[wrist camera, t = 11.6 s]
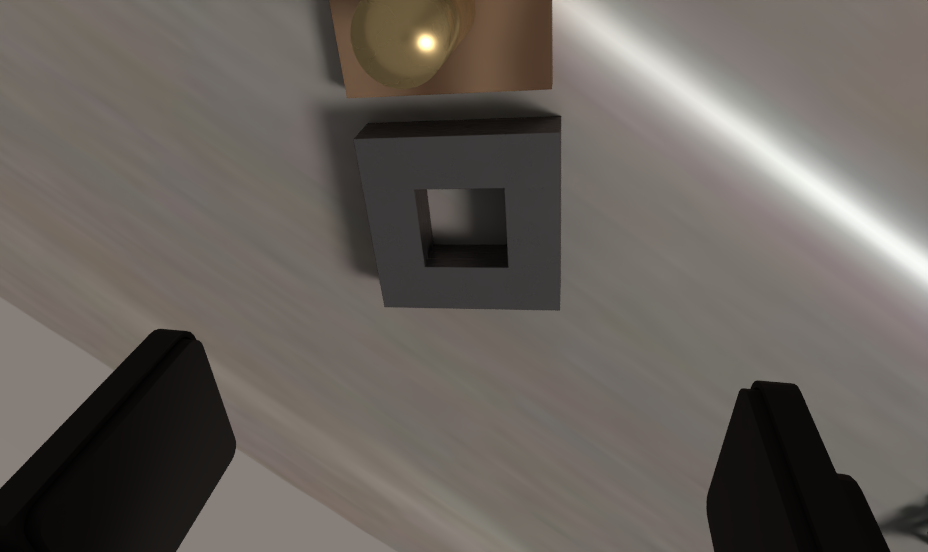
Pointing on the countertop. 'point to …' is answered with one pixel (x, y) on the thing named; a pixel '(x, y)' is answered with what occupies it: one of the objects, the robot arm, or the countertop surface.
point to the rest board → (469, 52)
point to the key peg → (408, 37)
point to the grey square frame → (464, 167)
